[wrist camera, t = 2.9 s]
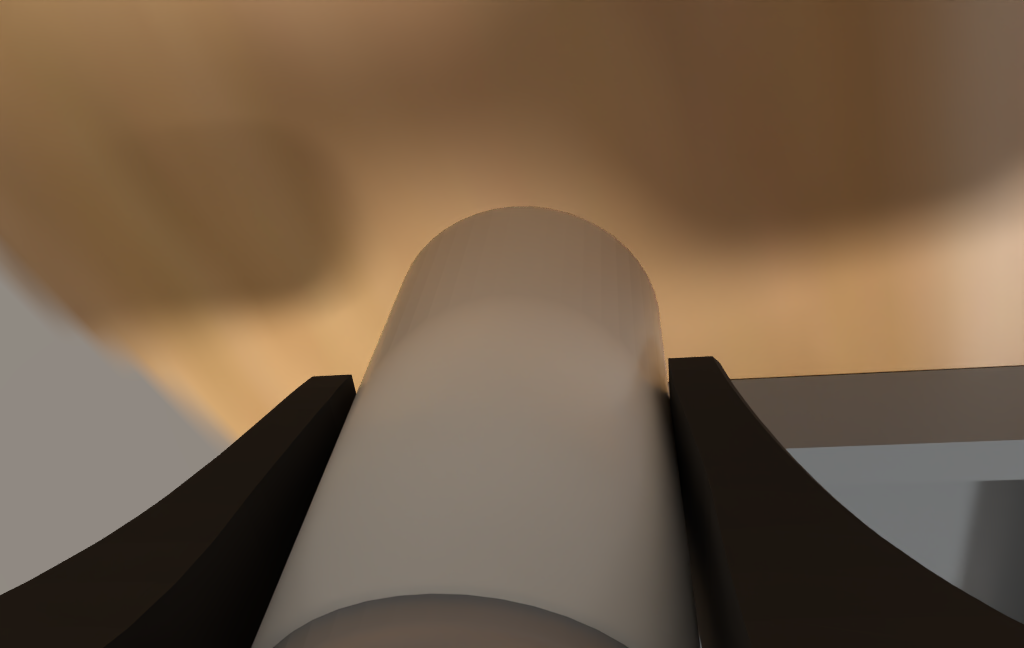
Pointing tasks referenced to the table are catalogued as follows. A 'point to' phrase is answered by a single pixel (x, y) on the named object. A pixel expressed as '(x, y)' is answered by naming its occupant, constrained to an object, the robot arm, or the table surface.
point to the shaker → (502, 460)
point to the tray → (917, 463)
